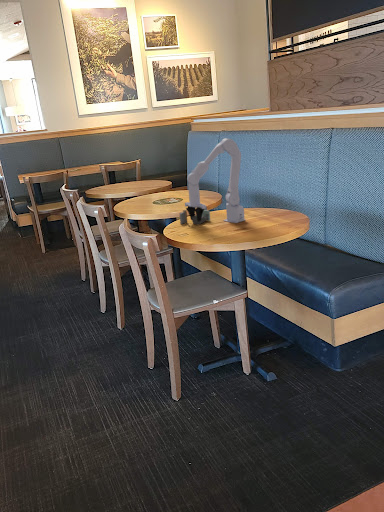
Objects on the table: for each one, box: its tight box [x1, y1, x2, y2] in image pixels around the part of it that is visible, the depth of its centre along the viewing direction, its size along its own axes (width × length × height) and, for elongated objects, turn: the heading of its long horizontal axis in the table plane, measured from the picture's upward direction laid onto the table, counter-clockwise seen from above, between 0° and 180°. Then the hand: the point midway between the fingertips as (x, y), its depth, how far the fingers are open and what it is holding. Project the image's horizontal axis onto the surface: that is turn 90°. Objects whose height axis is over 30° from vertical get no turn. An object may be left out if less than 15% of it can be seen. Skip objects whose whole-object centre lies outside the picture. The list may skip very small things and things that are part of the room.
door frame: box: [179, 206, 208, 225], centre depth 253 cm, size 2×20×7 cm, turn 133°
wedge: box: [191, 214, 208, 225], centre depth 246 cm, size 8×4×4 cm, turn 132°
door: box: [202, 209, 211, 222], centre depth 251 cm, size 2×9×6 cm, turn 42°
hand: (196, 220), depth 245 cm, fingers open, 4 cm apart
